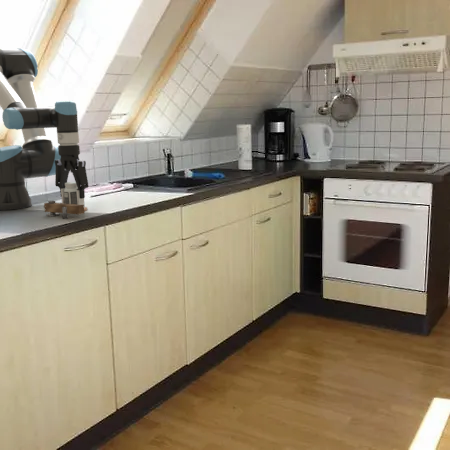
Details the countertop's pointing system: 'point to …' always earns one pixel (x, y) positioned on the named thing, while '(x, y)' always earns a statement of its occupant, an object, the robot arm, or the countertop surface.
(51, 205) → the leg bar
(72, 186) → the pill bottle
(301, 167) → the countertop surface
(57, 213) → the pivot pin
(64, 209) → the stop peg
